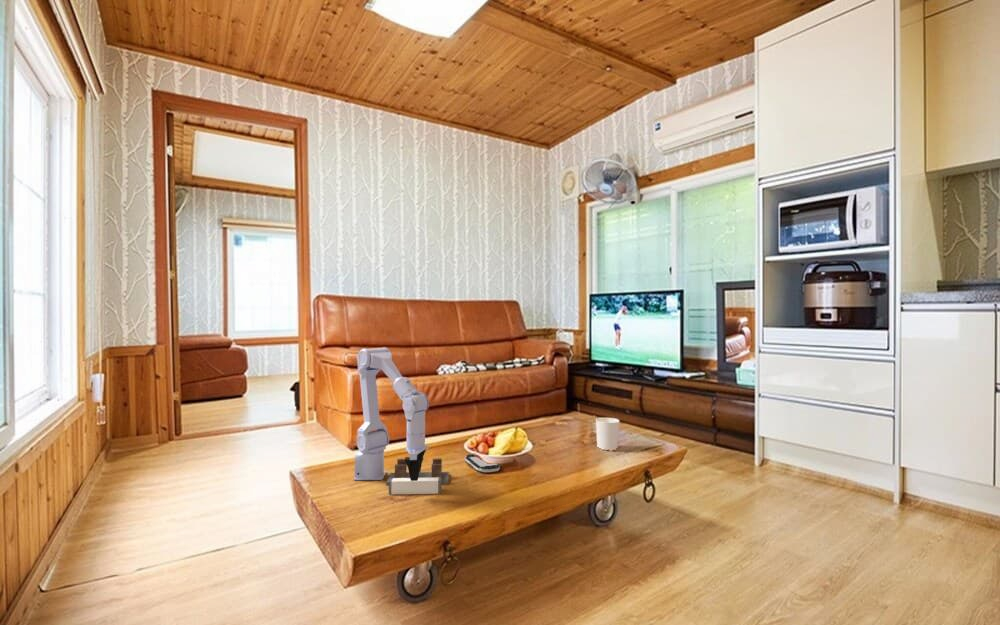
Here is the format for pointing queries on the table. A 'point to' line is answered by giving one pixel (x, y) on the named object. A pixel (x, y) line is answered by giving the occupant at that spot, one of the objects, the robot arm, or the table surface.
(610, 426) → the white cylinder
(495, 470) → the gaming console
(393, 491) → the rail
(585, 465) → the table surface
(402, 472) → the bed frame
